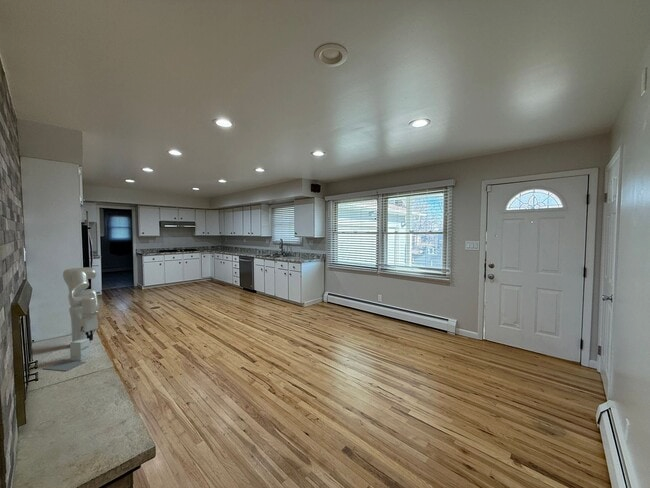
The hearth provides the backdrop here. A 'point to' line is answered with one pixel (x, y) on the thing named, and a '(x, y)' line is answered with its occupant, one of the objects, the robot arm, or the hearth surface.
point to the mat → (64, 365)
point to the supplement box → (79, 349)
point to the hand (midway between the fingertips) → (90, 340)
